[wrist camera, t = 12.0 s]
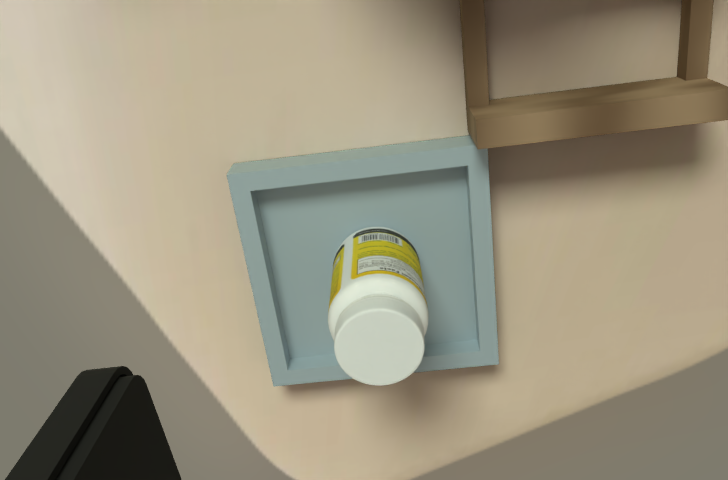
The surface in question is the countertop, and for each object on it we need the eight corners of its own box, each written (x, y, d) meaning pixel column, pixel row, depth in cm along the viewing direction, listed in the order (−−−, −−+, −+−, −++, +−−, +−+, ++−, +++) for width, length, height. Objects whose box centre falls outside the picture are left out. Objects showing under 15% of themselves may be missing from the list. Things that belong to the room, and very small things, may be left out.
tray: (481, 133, 34) (487, 143, 32) (493, 346, 39) (498, 364, 38) (233, 163, 35) (226, 174, 33) (277, 367, 40) (273, 386, 39)
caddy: (712, -108, 29) (753, -113, 26) (695, 102, 33) (730, 119, 30) (454, -72, 30) (464, -73, 27) (467, 129, 34) (477, 149, 31)
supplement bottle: (368, 316, 38) (368, 411, 30) (315, 257, 36) (301, 341, 29) (437, 270, 37) (454, 357, 29) (385, 207, 35) (389, 281, 27)
